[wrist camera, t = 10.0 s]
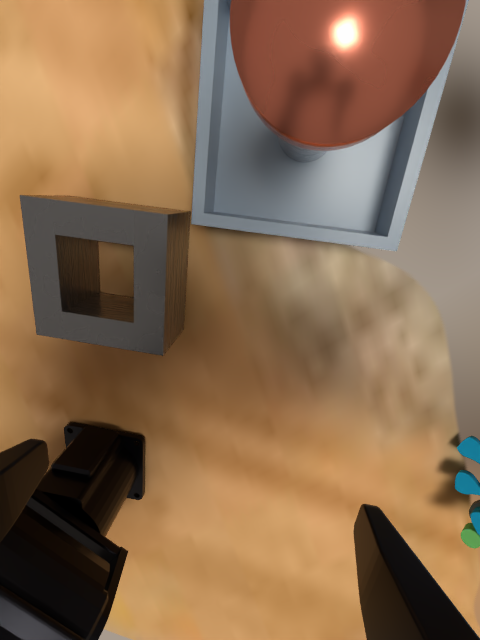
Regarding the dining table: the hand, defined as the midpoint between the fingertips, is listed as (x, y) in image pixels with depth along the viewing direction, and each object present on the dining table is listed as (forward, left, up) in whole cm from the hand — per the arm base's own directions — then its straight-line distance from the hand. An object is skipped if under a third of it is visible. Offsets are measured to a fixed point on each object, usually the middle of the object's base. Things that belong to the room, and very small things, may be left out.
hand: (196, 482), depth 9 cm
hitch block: (+2, +8, -13) cm, 15 cm away
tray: (+11, -2, -13) cm, 17 cm away
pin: (+11, -2, -12) cm, 17 cm away
